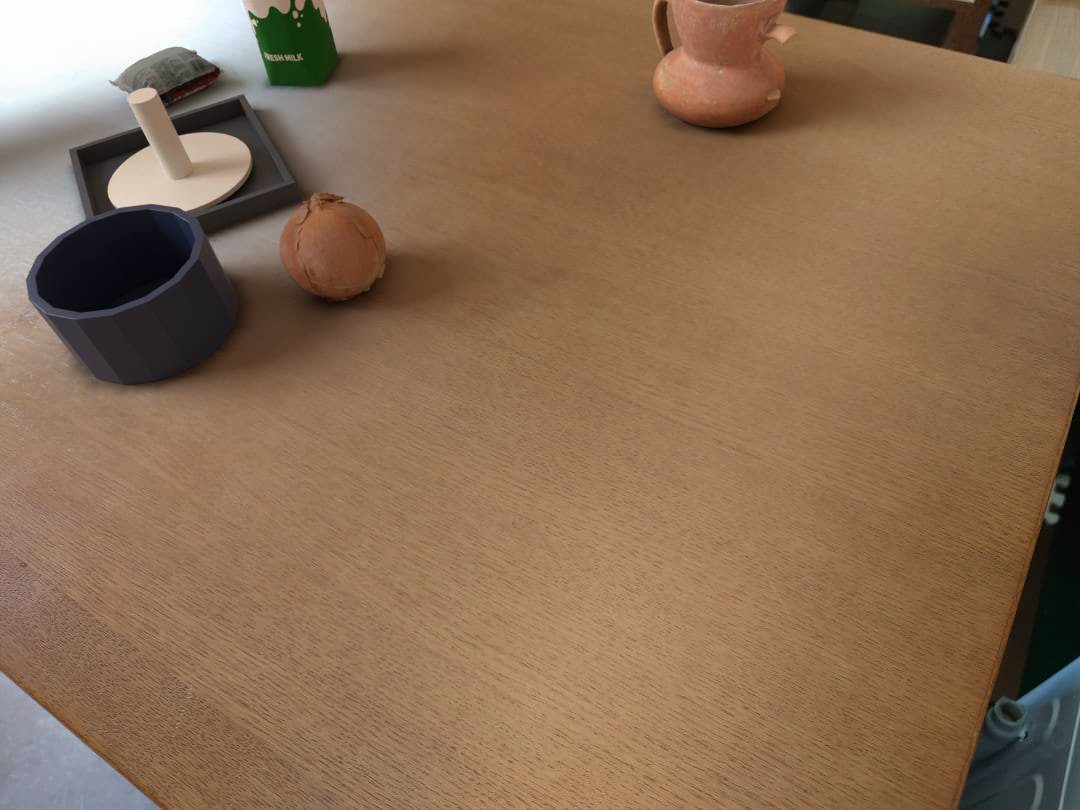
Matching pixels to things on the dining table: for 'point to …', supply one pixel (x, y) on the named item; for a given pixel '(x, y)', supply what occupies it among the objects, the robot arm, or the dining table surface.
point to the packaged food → (169, 74)
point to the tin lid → (177, 163)
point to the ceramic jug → (719, 60)
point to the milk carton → (293, 40)
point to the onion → (332, 248)
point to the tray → (230, 117)
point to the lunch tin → (134, 293)
